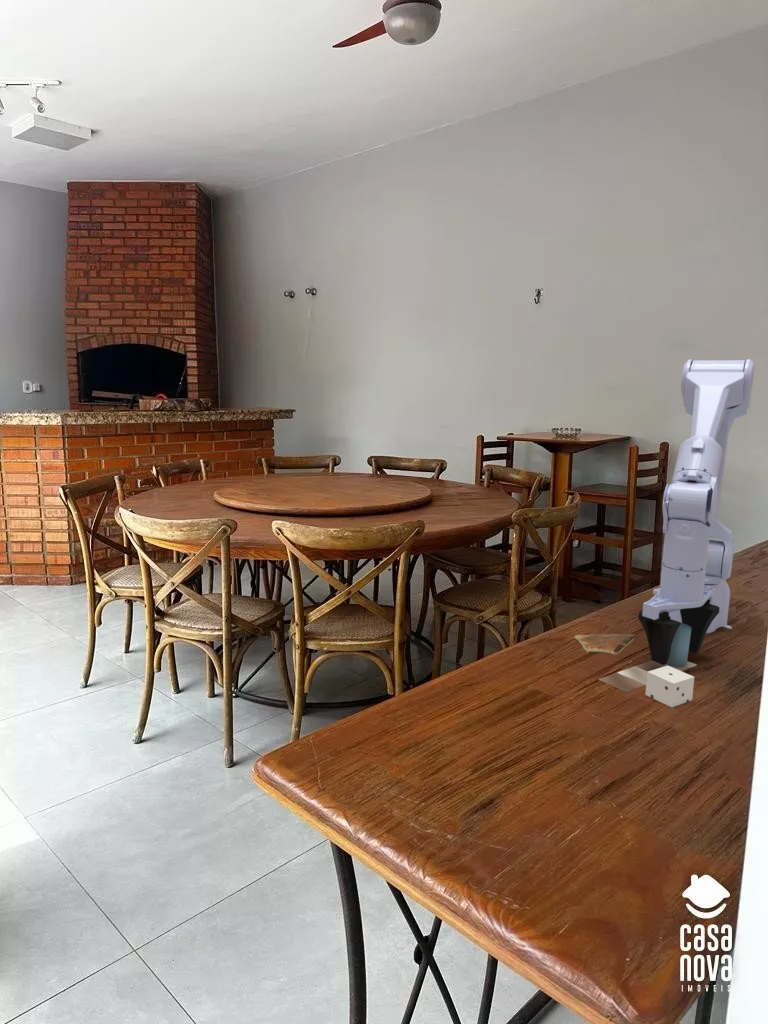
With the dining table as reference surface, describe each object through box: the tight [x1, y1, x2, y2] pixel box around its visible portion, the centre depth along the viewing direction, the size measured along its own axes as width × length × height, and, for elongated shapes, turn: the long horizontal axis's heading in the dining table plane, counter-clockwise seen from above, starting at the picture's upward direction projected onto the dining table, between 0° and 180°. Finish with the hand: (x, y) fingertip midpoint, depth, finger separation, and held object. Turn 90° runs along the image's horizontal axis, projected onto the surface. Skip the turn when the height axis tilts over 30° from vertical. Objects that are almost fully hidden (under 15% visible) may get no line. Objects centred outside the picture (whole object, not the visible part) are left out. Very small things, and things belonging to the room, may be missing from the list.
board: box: [598, 659, 697, 693], centre depth 96 cm, size 16×5×1 cm, turn 124°
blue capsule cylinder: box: [667, 623, 692, 667], centre depth 99 cm, size 3×3×6 cm
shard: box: [573, 633, 640, 656], centre depth 106 cm, size 11×8×2 cm
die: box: [645, 666, 695, 708], centre depth 89 cm, size 4×4×4 cm
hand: (675, 656), depth 99 cm, fingers open, 7 cm apart
